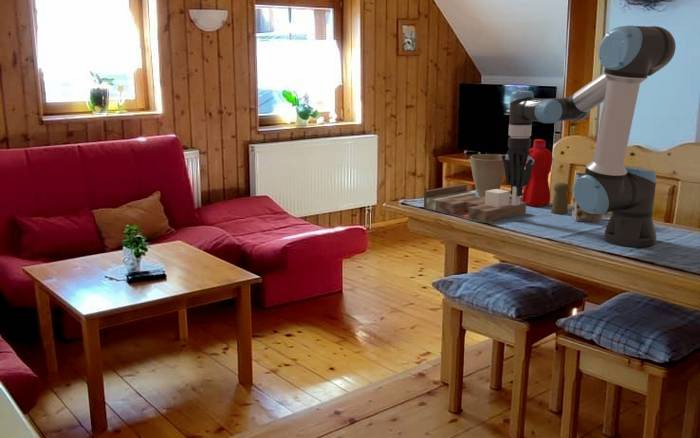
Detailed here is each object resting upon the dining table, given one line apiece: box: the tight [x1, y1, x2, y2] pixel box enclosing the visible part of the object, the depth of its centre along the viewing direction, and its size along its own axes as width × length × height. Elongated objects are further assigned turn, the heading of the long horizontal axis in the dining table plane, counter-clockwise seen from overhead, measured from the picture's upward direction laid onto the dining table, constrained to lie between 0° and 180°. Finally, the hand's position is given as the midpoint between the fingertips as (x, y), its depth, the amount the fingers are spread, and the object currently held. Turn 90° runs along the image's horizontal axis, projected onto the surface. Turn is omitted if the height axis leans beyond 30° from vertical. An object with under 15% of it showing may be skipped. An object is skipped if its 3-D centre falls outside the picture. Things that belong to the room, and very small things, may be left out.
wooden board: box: [423, 183, 527, 224], centre depth 262 cm, size 30×22×6 cm
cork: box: [550, 182, 570, 216], centre depth 258 cm, size 6×6×11 cm
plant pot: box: [469, 153, 505, 197], centre depth 286 cm, size 15×15×16 cm
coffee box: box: [571, 172, 603, 223], centre depth 247 cm, size 9×6×16 cm
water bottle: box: [521, 138, 554, 208], centre depth 270 cm, size 9×11×25 cm
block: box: [485, 188, 511, 207], centre depth 253 cm, size 6×6×5 cm
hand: (515, 204), depth 247 cm, fingers closed
